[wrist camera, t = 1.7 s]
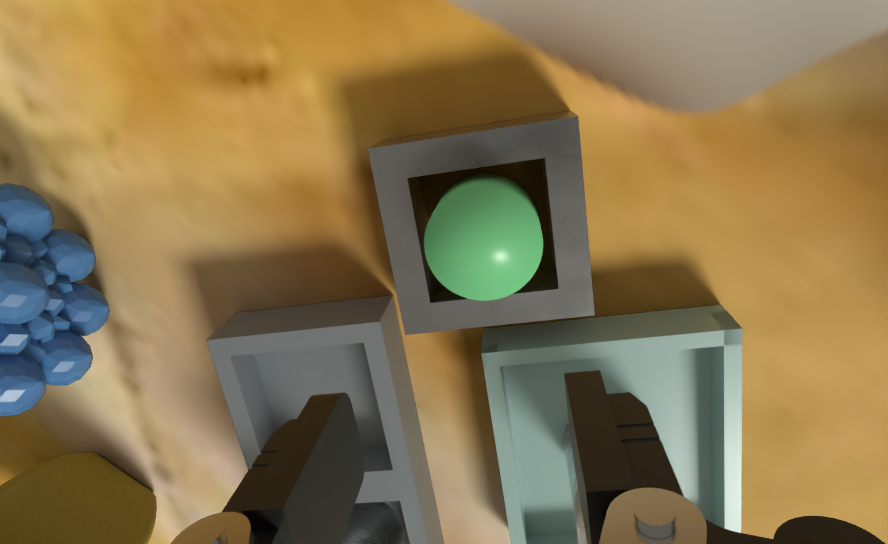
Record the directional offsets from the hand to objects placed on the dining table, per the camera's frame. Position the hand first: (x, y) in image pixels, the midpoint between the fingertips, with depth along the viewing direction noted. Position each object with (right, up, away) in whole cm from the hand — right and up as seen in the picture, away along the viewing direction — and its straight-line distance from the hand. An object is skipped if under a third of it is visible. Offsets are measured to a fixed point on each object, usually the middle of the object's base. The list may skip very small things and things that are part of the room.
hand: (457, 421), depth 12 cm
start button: (+2, +5, +15) cm, 16 cm away
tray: (+9, -6, +20) cm, 22 cm away
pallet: (-6, -7, +22) cm, 24 cm away
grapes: (-21, +4, +20) cm, 29 cm away
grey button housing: (+2, +6, +16) cm, 17 cm away
